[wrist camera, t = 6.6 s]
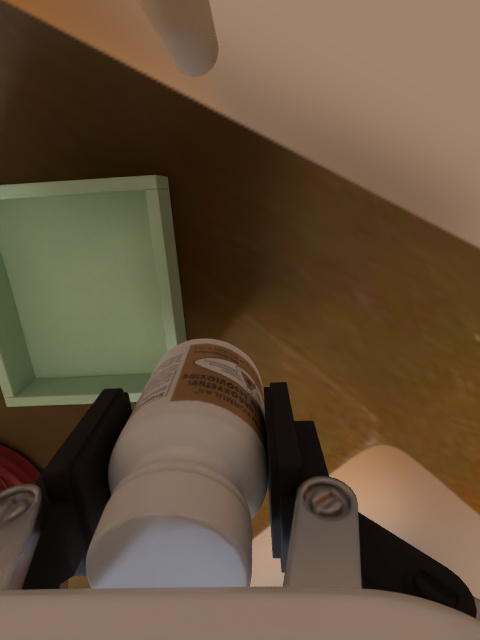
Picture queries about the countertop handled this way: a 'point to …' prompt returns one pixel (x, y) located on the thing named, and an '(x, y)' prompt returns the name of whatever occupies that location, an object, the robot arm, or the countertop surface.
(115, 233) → the tray
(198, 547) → the pill bottle
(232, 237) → the countertop surface
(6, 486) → the kitchen canister
